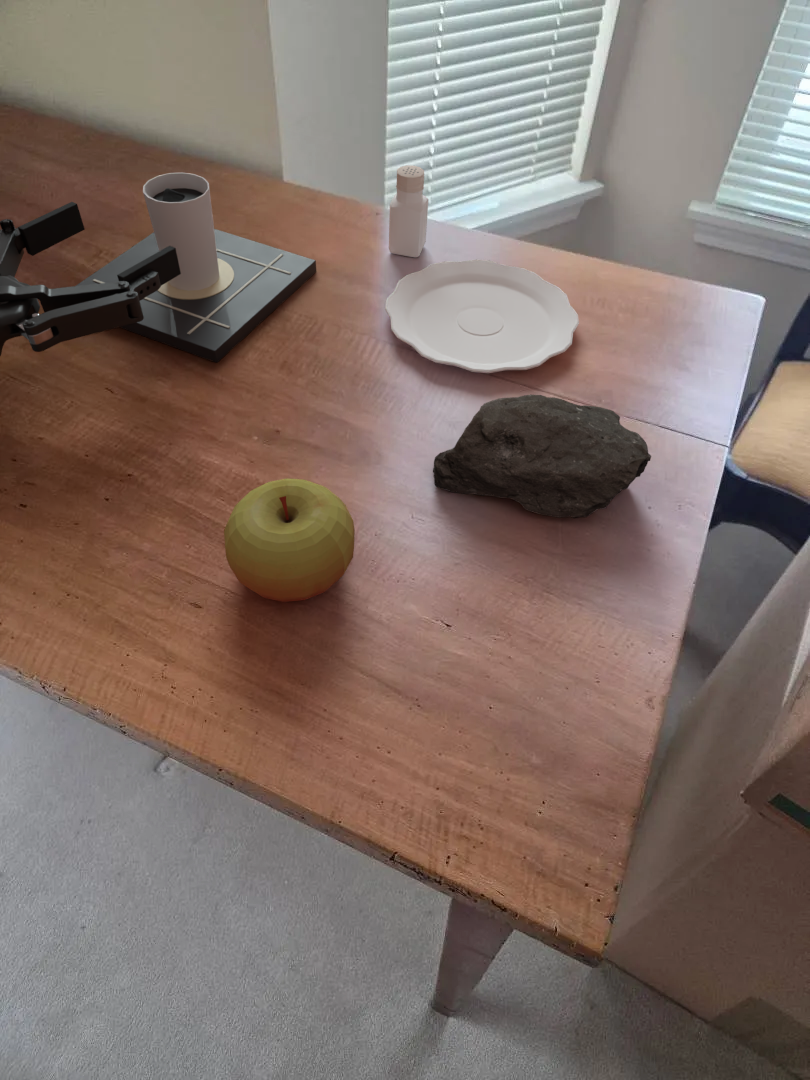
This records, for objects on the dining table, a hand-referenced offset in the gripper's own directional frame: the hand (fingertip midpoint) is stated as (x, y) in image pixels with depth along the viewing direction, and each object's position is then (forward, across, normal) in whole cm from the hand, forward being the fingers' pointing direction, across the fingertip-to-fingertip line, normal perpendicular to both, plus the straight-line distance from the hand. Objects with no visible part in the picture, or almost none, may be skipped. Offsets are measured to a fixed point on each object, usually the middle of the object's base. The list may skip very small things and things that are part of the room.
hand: (125, 236), depth 74 cm
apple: (-17, +35, -9) cm, 40 cm away
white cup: (+7, 0, -8) cm, 11 cm away
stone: (+2, +46, -9) cm, 47 cm away
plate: (+21, +30, -10) cm, 38 cm away
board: (+7, 0, -9) cm, 12 cm away
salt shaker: (+29, +14, -10) cm, 34 cm away
